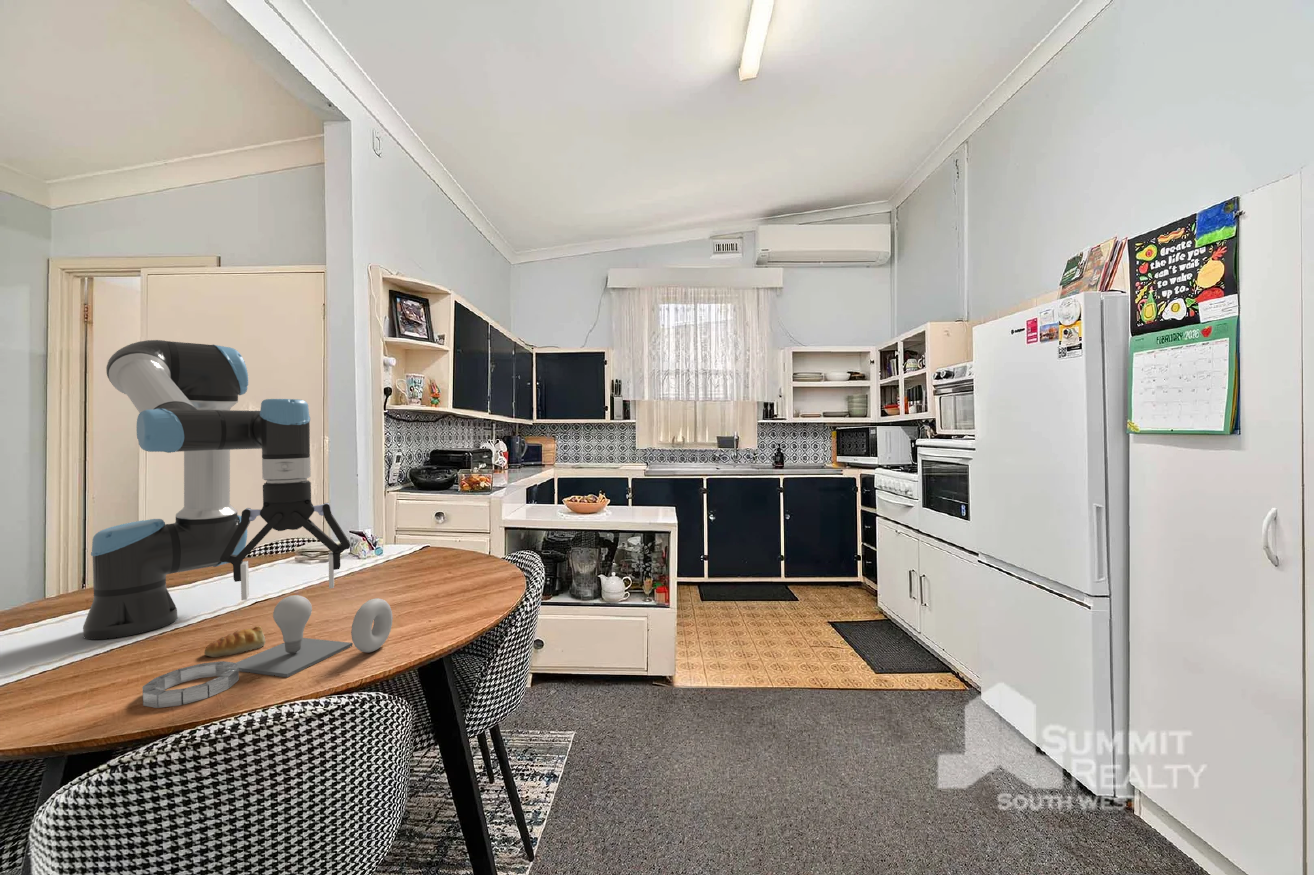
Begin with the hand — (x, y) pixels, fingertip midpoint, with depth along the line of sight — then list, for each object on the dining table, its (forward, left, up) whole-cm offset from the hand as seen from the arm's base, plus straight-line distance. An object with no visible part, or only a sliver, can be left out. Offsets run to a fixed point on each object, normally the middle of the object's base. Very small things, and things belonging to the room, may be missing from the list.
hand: (289, 592), depth 102 cm
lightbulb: (0, 0, -12) cm, 12 cm away
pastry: (-14, +1, -13) cm, 19 cm away
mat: (0, 0, -12) cm, 12 cm away
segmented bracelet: (-5, -14, -12) cm, 19 cm away
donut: (+13, +6, -13) cm, 19 cm away
